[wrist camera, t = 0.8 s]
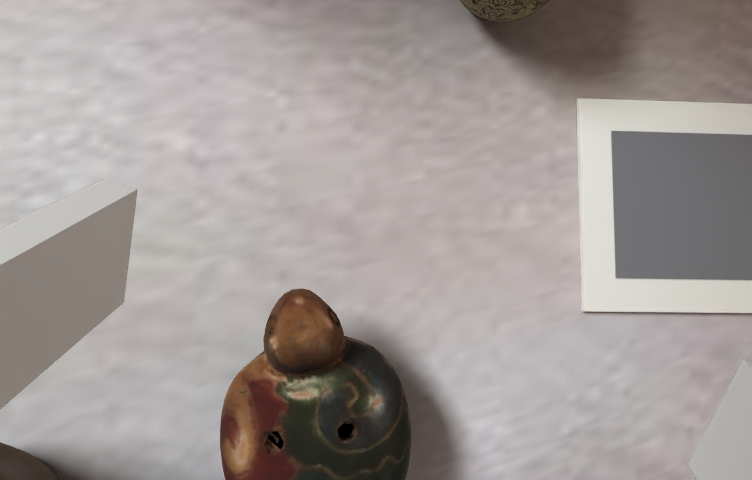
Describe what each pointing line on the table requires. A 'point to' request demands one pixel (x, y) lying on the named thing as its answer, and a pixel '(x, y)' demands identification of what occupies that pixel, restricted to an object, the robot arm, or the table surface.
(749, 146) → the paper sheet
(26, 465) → the plant pot
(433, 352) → the table surface
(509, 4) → the cup
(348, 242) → the table surface
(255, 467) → the decorative turtle
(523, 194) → the table surface
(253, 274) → the table surface
